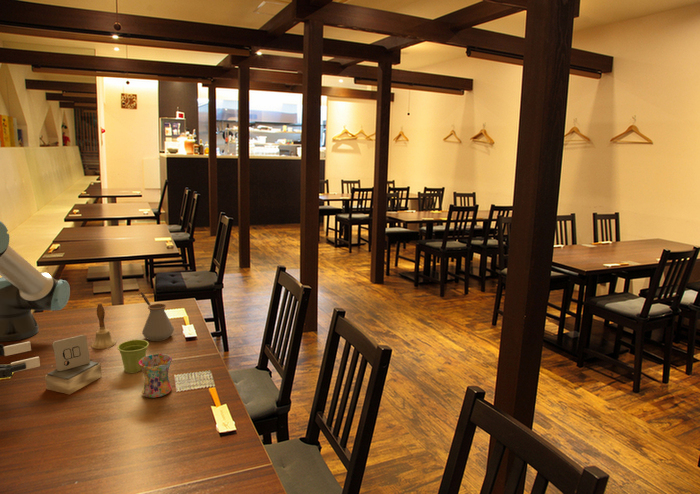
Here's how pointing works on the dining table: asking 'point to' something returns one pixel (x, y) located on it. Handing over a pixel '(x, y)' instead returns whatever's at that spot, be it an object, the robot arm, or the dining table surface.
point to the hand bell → (102, 332)
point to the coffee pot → (157, 322)
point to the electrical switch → (71, 352)
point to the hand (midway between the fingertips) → (35, 353)
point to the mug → (156, 375)
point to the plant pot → (133, 354)
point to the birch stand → (73, 378)
